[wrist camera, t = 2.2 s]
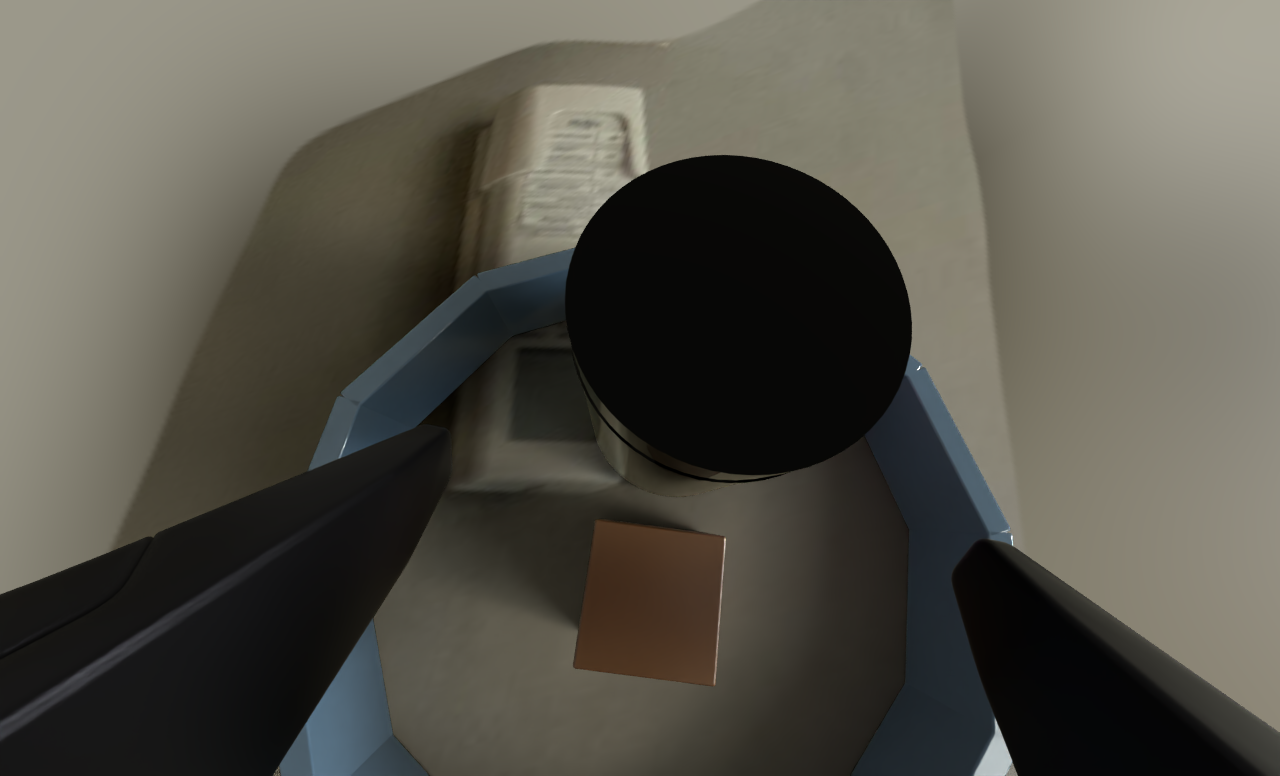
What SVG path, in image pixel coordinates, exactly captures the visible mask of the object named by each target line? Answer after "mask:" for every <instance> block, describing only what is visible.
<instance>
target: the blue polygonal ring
mask: <svg viewBox="0 0 1280 776" xmlns="http://www.w3.org/2000/svg"><path fill="white" fill-rule="evenodd" d="M574 249H575V248H572V249H568V250H564V251H560V252H557V253H553V254H549V255H545V256H541V257H538V258H534V259H530V260H526V261H522V262H519V263H515V264H511V265H507V266H503V267H500V268H496V269H492V270H488V271H484V272H481V273H478V274H477V276H478V277H476V276H472V277H471V278H470V279H469V280H468V281H467V282H466V283H464V284H463V285H462V286H461V287H460V288H459V289H458V290H456V291H455V292H454V293H453V294H452V295H451V296H450V297H448V298H447V299H446V300H445V301H444V302H443V303H442V304H441V305H439V306H438V307H437V308H436V309H435V310H434V311H433V312H431V313H430V314H429V315H428V316H427V317H426V318H425V319H423V320H422V321H421V322H420V323H419V324H418V325H417V326H415V327H414V328H413V329H412V330H411V331H410V332H409V333H407V334H406V335H405V336H404V337H403V338H402V339H401V340H399V341H398V342H397V343H396V344H395V345H394V346H393V347H392V348H390V349H389V350H388V351H387V352H386V353H385V354H384V355H382V356H381V357H380V358H379V359H378V360H377V361H376V362H374V363H373V364H372V365H371V366H370V367H369V368H368V369H366V370H365V371H364V372H363V373H362V374H361V375H360V376H358V377H357V378H356V379H355V380H354V381H353V382H352V383H350V384H349V385H348V386H347V387H346V388H345V389H344V390H342V391H341V395H342V396H338V397H337V398H336V401H335V403H334V406H333V408H332V411H331V413H330V416H329V418H328V421H327V423H326V426H325V428H324V431H323V433H322V436H321V438H320V441H319V443H318V446H317V448H316V451H315V453H314V456H313V458H312V461H311V463H310V466H309V468H308V471H310V470H312V469H315V468H317V467H320V466H322V465H325V464H327V463H329V462H332V461H334V460H337V459H339V458H342V457H344V456H347V455H349V454H351V453H354V452H356V451H359V450H361V449H364V448H366V447H369V446H371V445H374V444H376V443H378V442H381V441H383V440H386V439H388V438H391V437H393V436H396V435H398V434H400V433H403V432H405V431H408V430H410V429H413V428H415V427H416V426H417V425H418V424H420V423H421V422H422V421H423V420H424V419H425V418H426V417H427V416H428V415H429V414H430V413H431V412H432V411H433V410H434V409H435V408H436V407H437V406H439V405H440V404H441V403H442V402H443V401H444V400H445V399H446V398H447V397H448V396H449V395H450V394H451V393H452V392H453V391H454V390H455V389H456V388H458V387H459V386H460V385H461V384H462V383H463V382H464V381H465V380H466V379H467V378H468V377H469V376H470V375H471V374H472V373H473V372H474V371H476V370H477V369H478V368H479V367H480V366H481V365H482V364H483V363H484V362H485V361H486V360H487V359H488V358H489V357H490V356H491V355H492V354H493V353H495V352H496V351H497V350H498V349H499V348H500V347H501V346H502V345H503V344H504V343H505V342H506V341H507V340H508V339H509V338H510V337H511V336H514V335H517V334H521V333H524V332H528V331H531V330H535V329H538V328H542V327H545V326H549V325H552V324H556V323H559V322H563V321H566V315H565V289H566V279H567V274H568V269H569V265H570V261H571V258H572V255H573V252H574ZM921 366H922V364H921V363H920V362H919V361H918V360H916V359H915V358H914V357H912V356H911V355H910V356H909V360H908V364H907V368H906V372H905V375H904V377H903V380H902V383H901V385H900V388H899V390H898V392H897V393H896V395H895V397H894V399H893V401H892V403H891V404H890V406H889V407H888V409H887V410H886V412H885V413H884V414H883V416H882V417H881V418H880V419H879V421H878V422H877V423H876V424H875V425H874V426H873V427H872V428H871V430H869V431H868V432H867V433H866V434H865V435H864V436H865V438H866V440H867V442H868V444H869V446H870V448H871V450H872V453H873V455H874V457H875V459H876V461H877V463H878V465H879V467H880V470H881V472H882V474H883V476H884V478H885V480H886V482H887V484H888V486H889V489H890V491H891V493H892V495H893V497H894V499H895V501H896V503H897V505H898V508H899V510H900V512H901V514H902V516H903V518H904V520H905V522H906V525H907V527H908V529H909V550H908V590H907V630H906V670H905V683H904V685H903V687H902V689H901V690H900V692H899V694H898V695H897V697H896V699H895V700H894V702H893V704H892V705H891V707H890V709H889V711H888V712H887V714H886V716H885V717H884V719H883V721H882V722H881V724H880V726H879V728H878V729H877V731H876V733H875V734H874V736H873V738H872V739H871V741H870V743H869V744H868V746H867V748H866V750H865V751H864V753H863V755H862V756H861V758H860V760H859V761H858V763H857V765H856V766H855V768H854V770H853V772H852V773H851V775H850V776H1006V775H1007V773H1008V771H1009V769H1010V767H1011V765H1012V763H1013V762H1012V759H1011V757H1010V754H1009V752H1008V749H1007V747H1006V744H1005V742H1004V739H1003V737H1002V734H1001V731H1000V729H999V726H998V724H997V721H996V719H995V716H994V714H993V711H992V709H991V706H990V704H989V701H988V699H987V696H986V693H985V691H984V688H983V685H982V683H981V680H980V677H979V674H978V671H977V668H976V665H975V661H974V658H973V655H972V651H971V648H970V644H969V641H968V638H967V634H966V631H965V627H964V624H963V621H962V617H961V614H960V610H959V607H958V604H957V600H956V597H955V594H954V590H953V587H952V582H951V576H952V572H953V569H954V567H955V566H956V565H957V564H958V562H959V561H960V560H961V558H962V557H963V556H964V555H965V553H966V552H967V551H968V549H969V548H970V547H971V545H972V544H973V543H974V542H975V541H977V540H979V539H983V538H985V539H991V540H996V541H1001V542H1005V543H1008V544H1010V545H1012V546H1013V536H1012V534H1011V533H1008V531H1010V527H1009V525H1008V523H1007V521H1006V519H1005V517H1004V515H1003V514H1002V512H1001V510H1000V508H999V506H998V504H997V502H996V500H995V498H994V497H993V495H992V493H991V491H990V489H989V487H988V485H987V483H986V481H985V479H984V478H983V476H982V474H981V472H980V470H979V468H978V466H977V464H976V462H975V461H974V459H973V457H972V455H971V453H970V451H969V449H968V447H967V445H966V444H965V442H964V440H963V438H962V436H961V434H960V432H959V430H958V428H957V426H956V425H955V423H954V421H953V419H952V417H951V415H950V413H949V411H948V409H947V408H946V406H945V404H944V402H943V400H942V398H941V396H940V394H939V392H938V391H937V389H936V387H935V385H934V383H933V381H932V379H931V377H930V375H929V373H928V372H927V370H926V368H925V367H922V368H921ZM279 767H280V776H430V775H429V774H428V773H427V772H426V771H425V770H424V769H423V768H422V766H421V765H420V764H419V763H418V762H417V761H416V760H415V759H414V758H413V756H412V755H411V754H410V753H409V752H408V751H407V750H406V749H405V747H404V746H403V745H402V744H401V743H400V742H399V741H398V740H397V739H396V737H395V736H394V735H393V731H392V726H391V720H390V714H389V708H388V702H387V697H386V691H385V685H384V679H383V673H382V667H381V662H380V656H379V650H378V644H377V638H376V633H375V627H374V621H373V619H372V620H371V622H370V623H369V625H368V626H367V628H366V630H365V631H364V633H363V634H362V636H361V637H360V639H359V641H358V642H357V644H356V645H355V647H354V648H353V650H352V652H351V653H350V655H349V656H348V658H347V659H346V661H345V663H344V664H343V666H342V667H341V669H340V670H339V672H338V674H337V675H336V677H335V678H334V680H333V681H332V683H331V685H330V686H329V688H328V689H327V691H326V692H325V694H324V696H323V697H322V699H321V700H320V702H319V703H318V705H317V707H316V708H315V710H314V711H313V713H312V714H311V716H310V718H309V719H308V721H307V722H306V724H305V725H304V727H303V729H302V730H301V732H300V733H299V735H298V736H297V738H296V740H295V741H294V743H293V744H292V746H291V747H290V749H289V751H288V752H287V754H286V755H285V757H284V758H283V760H282V762H281V763H280V765H279Z"/></svg>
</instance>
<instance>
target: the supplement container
mask: <svg viewBox="0 0 1280 776" xmlns="http://www.w3.org/2000/svg"><path fill="white" fill-rule="evenodd" d="M565 315H566V322H567V329H568V334H569V338H570V342H571V347H572V354H573V360H574V364H575V367H576V371H577V375H578V378H579V380H580V383H581V386H582V388H583V391H584V393H585V397H586V401H587V405H588V409H589V413H590V417H591V422H592V426H593V430H594V434H595V437H596V440H597V443H598V445H599V448H600V450H601V452H602V454H603V455H604V457H605V458H606V460H607V461H608V463H609V464H610V465H611V466H612V468H613V469H614V470H615V471H616V472H617V473H618V474H619V475H621V476H622V477H623V478H624V479H625V480H627V481H628V482H630V483H631V484H633V485H634V486H636V487H638V488H640V489H642V490H645V491H647V492H650V493H653V494H657V495H662V496H668V497H686V496H693V495H697V494H701V493H705V492H709V491H712V490H716V489H720V488H724V487H727V486H731V485H735V484H739V483H750V482H756V481H762V480H766V479H770V478H774V477H778V476H781V475H784V474H786V473H789V472H791V471H795V470H799V469H803V468H806V467H810V466H812V465H815V464H817V463H820V462H823V461H825V460H827V459H829V458H831V457H833V456H835V455H837V454H839V453H840V452H842V451H844V450H845V449H847V448H848V447H850V446H851V445H853V444H854V443H855V442H857V441H858V440H859V439H860V438H861V437H863V436H864V435H865V434H866V433H867V432H868V431H869V430H871V428H872V427H873V426H874V425H875V424H876V423H877V422H878V421H879V419H880V418H881V417H882V416H883V414H884V413H885V412H886V410H887V409H888V407H889V406H890V404H891V403H892V401H893V399H894V397H895V395H896V393H897V392H898V390H899V388H900V385H901V383H902V380H903V377H904V375H905V372H906V368H907V364H908V360H909V356H910V348H911V341H912V320H911V309H910V303H909V298H908V293H907V290H906V286H905V283H904V280H903V277H902V274H901V272H900V269H899V267H898V265H897V262H896V260H895V258H894V257H893V255H892V253H891V251H890V249H889V247H888V246H887V244H886V243H885V241H884V240H883V238H882V237H881V235H880V234H879V233H878V231H877V230H876V229H875V228H874V226H873V225H872V224H871V223H870V221H869V220H868V219H867V218H866V217H865V216H864V215H863V214H862V213H861V212H860V211H859V210H858V209H857V208H856V207H855V206H854V205H852V204H851V203H850V202H849V201H848V200H847V199H846V198H844V197H843V196H842V195H840V194H839V193H837V192H836V191H835V190H833V189H832V188H830V187H829V186H827V185H825V184H824V183H822V182H821V181H819V180H817V179H815V178H813V177H811V176H809V175H807V174H805V173H803V172H801V171H798V170H796V169H793V168H791V167H788V166H785V165H782V164H779V163H775V162H772V161H768V160H763V159H759V158H753V157H745V156H733V155H713V156H702V157H694V158H689V159H684V160H679V161H675V162H672V163H669V164H666V165H663V166H660V167H658V168H656V169H653V170H651V171H648V172H646V173H645V174H643V175H641V176H639V177H637V178H635V179H634V180H632V181H631V182H629V183H628V184H626V185H625V186H623V187H622V188H621V189H619V190H618V191H617V192H616V193H615V194H614V195H612V196H611V197H610V198H609V199H608V200H607V201H606V202H605V203H604V204H603V205H602V206H601V207H600V208H599V209H598V211H597V212H596V213H595V215H594V216H593V217H592V219H591V220H590V221H589V223H588V224H587V226H586V228H585V229H584V231H583V233H582V234H581V236H580V238H579V241H578V243H577V245H576V247H575V249H574V252H573V255H572V258H571V261H570V265H569V269H568V274H567V279H566V289H565Z"/></svg>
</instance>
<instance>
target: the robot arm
mask: <svg viewBox="0 0 1280 776" xmlns="http://www.w3.org/2000/svg"><path fill="white" fill-rule="evenodd" d="M451 472H452V450H451V434H450V432H449V430H448V429H446V428H443V427H438V426H433V425H428V424H424V425H420V426H418V427H415V428H413V429H410V430H408V431H405V432H403V433H400V434H398V435H396V436H393V437H391V438H388V439H386V440H383V441H381V442H378V443H376V444H374V445H371V446H369V447H366V448H364V449H361V450H359V451H356V452H354V453H351V454H349V455H347V456H344V457H342V458H339V459H337V460H334V461H332V462H329V463H327V464H325V465H322V466H320V467H317V468H315V469H312V470H310V471H307V472H305V473H303V474H300V475H298V476H295V477H293V478H290V479H288V480H285V481H283V482H281V483H278V484H276V485H273V486H271V487H268V488H266V489H263V490H261V491H258V492H256V493H254V494H251V495H249V496H246V497H244V498H241V499H239V500H236V501H234V502H231V503H229V504H227V505H224V506H222V507H219V508H217V509H214V510H212V511H209V512H207V513H205V514H202V515H200V516H197V517H195V518H192V519H190V520H187V521H185V522H182V523H180V524H178V525H175V526H173V527H170V528H168V529H165V530H163V531H160V532H158V533H157V534H156V535H155V536H154V538H153V537H145V538H143V539H140V540H138V541H136V542H133V543H131V544H128V545H126V546H123V547H121V548H118V549H116V550H114V551H111V552H109V553H106V554H104V555H101V556H99V557H96V558H94V559H91V560H89V561H86V562H84V563H81V564H78V565H76V566H73V567H71V568H68V569H66V570H63V571H61V572H58V573H56V574H53V575H50V576H48V577H45V578H43V579H40V580H38V581H35V582H33V583H30V584H27V585H25V586H22V587H19V588H16V589H14V590H11V591H8V592H6V593H3V594H1V595H0V776H273V774H274V773H275V771H276V769H277V768H278V766H279V765H280V763H281V762H282V760H283V758H284V757H285V755H286V754H287V752H288V751H289V749H290V747H291V746H292V744H293V743H294V741H295V740H296V738H297V736H298V735H299V733H300V732H301V730H302V729H303V727H304V725H305V724H306V722H307V721H308V719H309V718H310V716H311V714H312V713H313V711H314V710H315V708H316V707H317V705H318V703H319V702H320V700H321V699H322V697H323V696H324V694H325V692H326V691H327V689H328V688H329V686H330V685H331V683H332V681H333V680H334V678H335V677H336V675H337V674H338V672H339V670H340V669H341V667H342V666H343V664H344V663H345V661H346V659H347V658H348V656H349V655H350V653H351V652H352V650H353V648H354V647H355V645H356V644H357V642H358V641H359V639H360V637H361V636H362V634H363V633H364V631H365V630H366V628H367V626H368V625H369V623H370V622H371V620H372V619H373V617H374V615H375V614H376V612H377V611H378V609H379V608H380V606H381V604H382V603H383V601H384V600H385V598H386V597H387V595H388V593H389V592H390V590H391V589H392V587H393V586H394V584H395V582H396V581H397V579H398V578H399V576H400V575H401V573H402V571H403V570H404V568H405V566H406V565H407V563H408V561H409V559H410V558H411V556H412V554H413V552H414V550H415V548H416V546H417V544H418V542H419V540H420V538H421V536H422V534H423V532H424V530H425V528H426V526H427V524H428V522H429V520H430V518H431V516H432V514H433V512H434V510H435V508H436V506H437V504H438V502H439V499H440V497H441V495H442V493H443V491H444V489H445V487H446V485H447V483H448V481H449V479H450V476H451ZM951 582H952V587H953V590H954V594H955V597H956V600H957V604H958V607H959V610H960V614H961V617H962V621H963V624H964V627H965V631H966V634H967V638H968V641H969V644H970V648H971V651H972V655H973V658H974V661H975V665H976V668H977V671H978V674H979V677H980V680H981V683H982V685H983V688H984V691H985V693H986V696H987V699H988V701H989V704H990V706H991V709H992V711H993V714H994V716H995V719H996V721H997V724H998V726H999V729H1000V731H1001V734H1002V737H1003V739H1004V742H1005V744H1006V747H1007V749H1008V752H1009V754H1010V757H1011V759H1012V762H1013V764H1014V767H1015V769H1016V772H1017V775H1018V776H1280V732H1278V731H1277V730H1275V729H1274V728H1272V727H1271V726H1269V725H1268V724H1267V723H1265V722H1264V721H1262V720H1261V719H1259V718H1258V717H1257V716H1255V715H1254V714H1252V713H1251V712H1249V711H1248V710H1247V709H1245V708H1244V707H1242V706H1241V705H1239V704H1238V703H1237V702H1235V701H1234V700H1232V699H1231V698H1229V697H1228V696H1227V695H1225V694H1224V693H1222V692H1221V691H1219V690H1218V689H1217V688H1215V687H1214V686H1212V685H1211V684H1209V683H1208V682H1207V681H1205V680H1204V679H1202V678H1201V677H1199V676H1198V675H1197V674H1195V673H1194V672H1192V671H1191V670H1189V669H1188V668H1186V667H1185V666H1184V665H1182V664H1181V663H1179V662H1178V661H1177V660H1175V659H1174V658H1172V657H1171V656H1169V655H1168V654H1167V653H1165V652H1164V651H1162V650H1161V649H1159V648H1158V647H1156V646H1155V645H1154V644H1152V643H1151V642H1149V641H1148V640H1146V639H1145V638H1144V637H1142V636H1141V635H1139V634H1138V633H1136V632H1135V631H1134V630H1132V629H1131V628H1129V627H1128V626H1126V625H1125V624H1124V623H1122V622H1121V621H1119V620H1118V619H1116V618H1115V617H1114V616H1112V615H1111V614H1109V613H1108V612H1106V611H1105V610H1104V609H1102V608H1101V607H1099V606H1098V605H1096V604H1095V603H1093V602H1092V601H1091V600H1089V599H1088V598H1086V597H1085V596H1083V595H1082V594H1081V593H1079V592H1078V591H1076V590H1075V589H1074V588H1072V587H1071V586H1069V585H1068V584H1066V583H1065V582H1064V581H1062V580H1061V579H1059V578H1058V577H1056V576H1055V575H1053V574H1052V573H1051V572H1049V571H1048V570H1046V569H1045V568H1044V567H1042V566H1041V565H1039V564H1038V563H1036V562H1035V561H1033V560H1032V559H1031V558H1029V557H1028V556H1026V555H1025V554H1023V553H1022V552H1021V551H1019V550H1018V549H1016V548H1015V547H1013V546H1012V545H1010V544H1008V543H1005V542H1001V541H996V540H991V539H985V538H983V539H979V540H977V541H975V542H974V543H973V544H972V545H971V547H970V548H969V549H968V551H967V552H966V553H965V555H964V556H963V557H962V558H961V560H960V561H959V562H958V564H957V565H956V566H955V567H954V569H953V572H952V576H951Z"/></svg>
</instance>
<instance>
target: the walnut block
mask: <svg viewBox="0 0 1280 776" xmlns="http://www.w3.org/2000/svg"><path fill="white" fill-rule="evenodd" d="M725 545H726V538H725V537H724V536H720V535H714V534H708V533H703V532H696V531H689V530H681V529H674V528H667V527H659V526H652V525H644V524H637V523H630V522H622V521H615V520H607V519H597V520H595V523H594V530H593V537H592V543H591V550H590V557H589V563H588V570H587V576H586V583H585V590H584V596H583V603H582V609H581V616H580V623H579V629H578V636H577V642H576V649H575V656H574V662H573V667H574V668H575V669H583V670H591V671H598V672H606V673H614V674H622V675H629V676H637V677H645V678H653V679H660V680H668V681H676V682H684V683H691V684H699V685H707V686H715V684H716V670H717V656H718V642H719V628H720V615H721V601H722V587H723V573H724V559H725Z"/></svg>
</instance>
